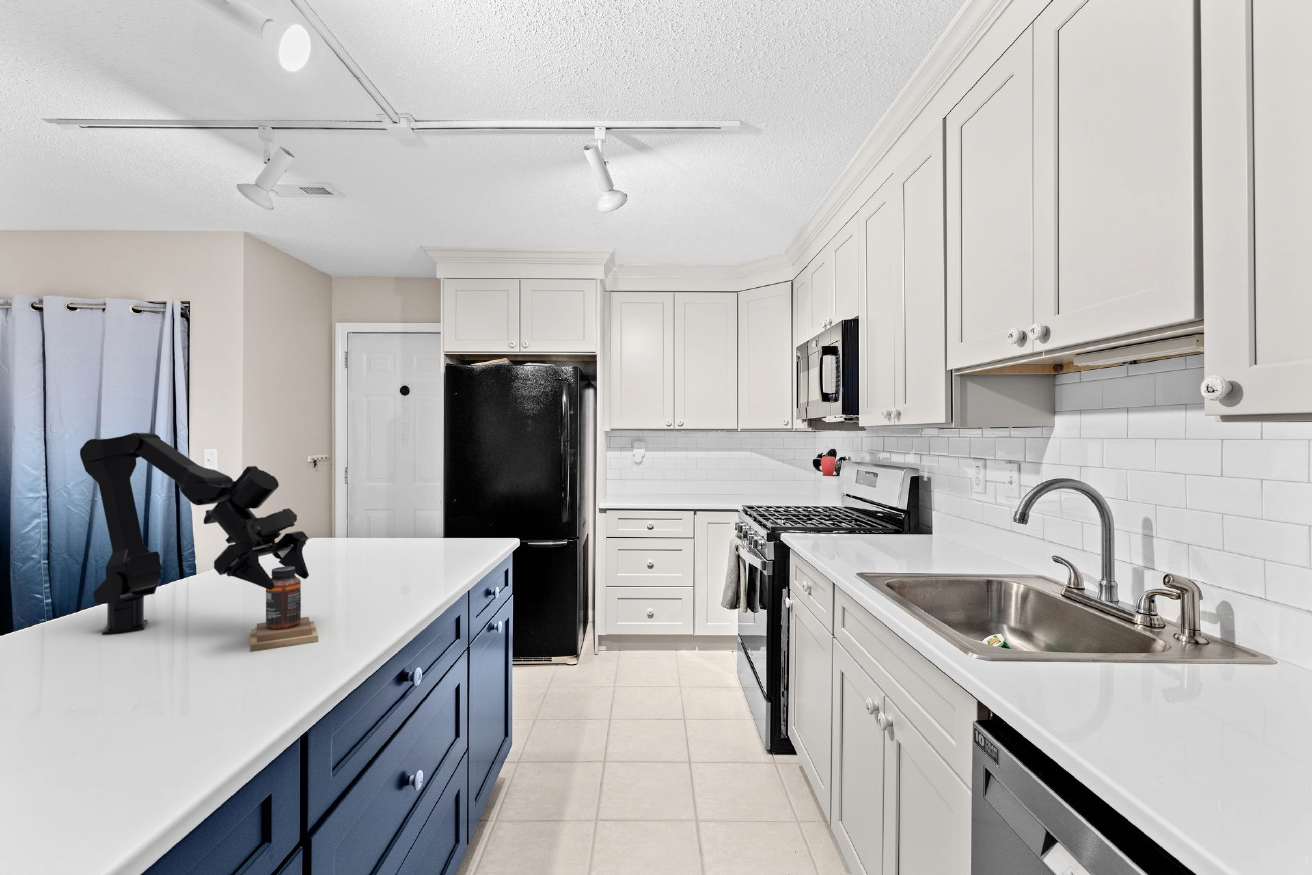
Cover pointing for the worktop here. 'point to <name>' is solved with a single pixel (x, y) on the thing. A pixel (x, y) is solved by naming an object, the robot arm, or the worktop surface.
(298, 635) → the wooden stand
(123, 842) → the worktop surface
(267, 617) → the supplement bottle
